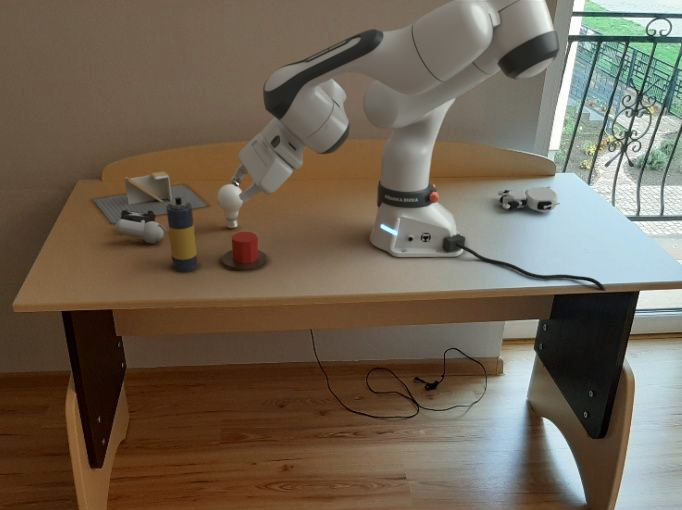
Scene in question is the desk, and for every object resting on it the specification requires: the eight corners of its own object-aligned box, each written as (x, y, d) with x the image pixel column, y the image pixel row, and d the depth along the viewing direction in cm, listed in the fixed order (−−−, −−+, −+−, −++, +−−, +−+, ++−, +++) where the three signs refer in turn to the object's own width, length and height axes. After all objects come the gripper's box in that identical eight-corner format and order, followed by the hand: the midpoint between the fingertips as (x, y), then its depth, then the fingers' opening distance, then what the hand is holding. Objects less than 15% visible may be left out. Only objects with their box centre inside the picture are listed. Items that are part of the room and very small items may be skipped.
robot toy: (502, 218, 181) (560, 217, 180) (503, 202, 178) (562, 200, 177) (495, 201, 191) (550, 199, 190) (497, 185, 188) (552, 183, 187)
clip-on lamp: (195, 238, 171) (120, 223, 167) (199, 213, 168) (123, 198, 164) (191, 254, 160) (111, 239, 157) (195, 229, 157) (114, 212, 154)
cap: (260, 253, 156) (259, 232, 153) (255, 264, 151) (254, 242, 149) (236, 251, 156) (234, 230, 154) (230, 262, 152) (229, 241, 149)
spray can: (200, 262, 153) (194, 194, 144) (193, 273, 149) (186, 203, 140) (177, 260, 154) (169, 192, 145) (169, 271, 149) (161, 201, 141)
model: (172, 201, 182) (168, 173, 178) (132, 208, 178) (128, 179, 173) (167, 197, 185) (164, 169, 180) (128, 204, 180) (124, 175, 176)
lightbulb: (214, 229, 168) (210, 186, 162) (229, 221, 173) (226, 178, 166) (235, 235, 165) (233, 191, 159) (250, 226, 170) (248, 183, 164)
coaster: (270, 252, 158) (270, 249, 158) (261, 272, 150) (261, 269, 149) (228, 249, 159) (227, 246, 158) (216, 269, 151) (216, 265, 150)
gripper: (259, 118, 149) (217, 166, 152) (282, 146, 133) (235, 199, 136) (279, 137, 153) (238, 183, 156) (305, 167, 137) (258, 218, 139)
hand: (237, 191), depth 146 cm, fingers open, 8 cm apart
